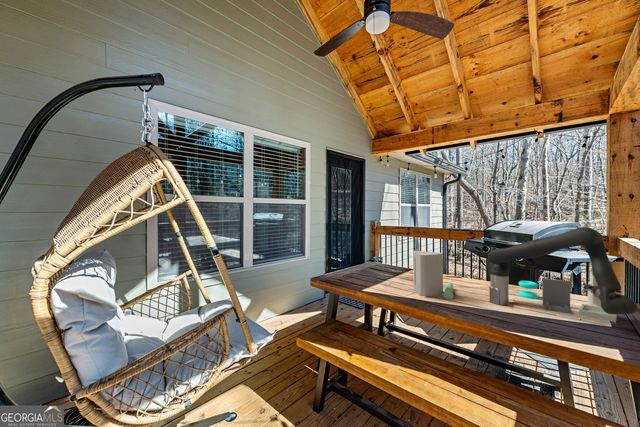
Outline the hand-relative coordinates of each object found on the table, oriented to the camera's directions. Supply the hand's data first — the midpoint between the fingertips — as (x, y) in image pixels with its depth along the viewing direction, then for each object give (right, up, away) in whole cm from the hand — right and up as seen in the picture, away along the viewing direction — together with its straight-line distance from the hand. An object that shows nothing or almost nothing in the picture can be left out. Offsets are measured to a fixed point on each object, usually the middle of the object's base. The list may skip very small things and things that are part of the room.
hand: (596, 286), depth 142 cm
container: (-60, -16, +40) cm, 74 cm away
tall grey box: (-76, -16, +40) cm, 87 cm away
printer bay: (-14, -15, +8) cm, 22 cm away
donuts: (-14, -15, +29) cm, 36 cm away
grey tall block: (-1, -8, -2) cm, 8 cm away
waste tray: (-1, -15, -2) cm, 15 cm away
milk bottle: (+13, -15, +12) cm, 23 cm away
